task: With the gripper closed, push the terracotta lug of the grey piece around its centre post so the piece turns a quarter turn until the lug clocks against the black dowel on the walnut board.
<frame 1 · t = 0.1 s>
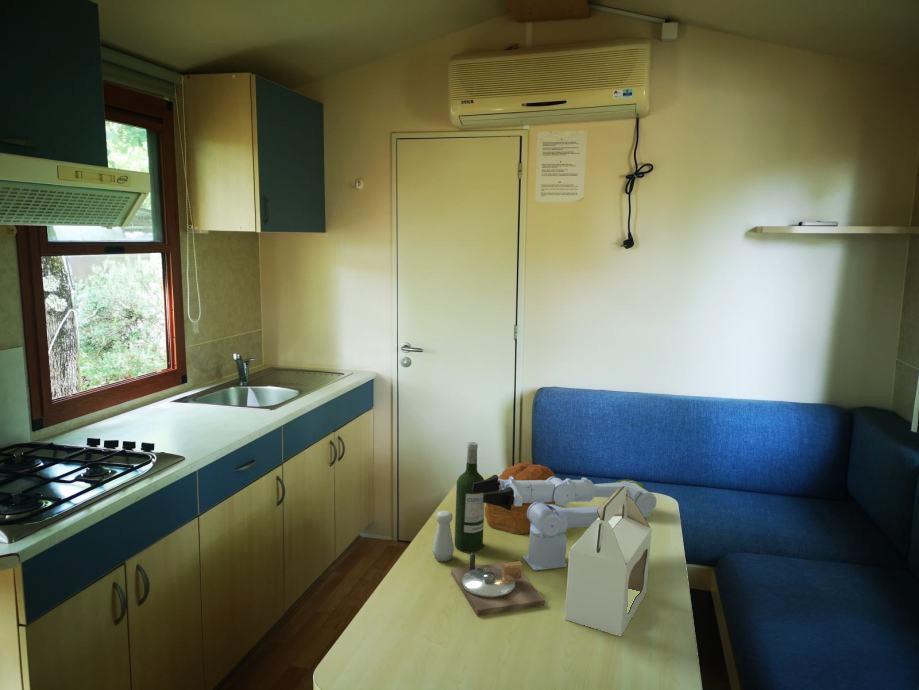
hand: (478, 492, 178), 22 cm above the table, tool horizontal, fingers open, 7 cm apart
apple: (627, 513, 223), on the table
bread: (521, 516, 218), on the table
salt shaker: (442, 558, 188), on the table
wine bottle: (468, 546, 195), on the table
gable box: (606, 607, 167), on the table
grey piece: (492, 575, 172), point 4 cm above the table, hinge at 0.0°
walnut board: (495, 589, 173), on the table
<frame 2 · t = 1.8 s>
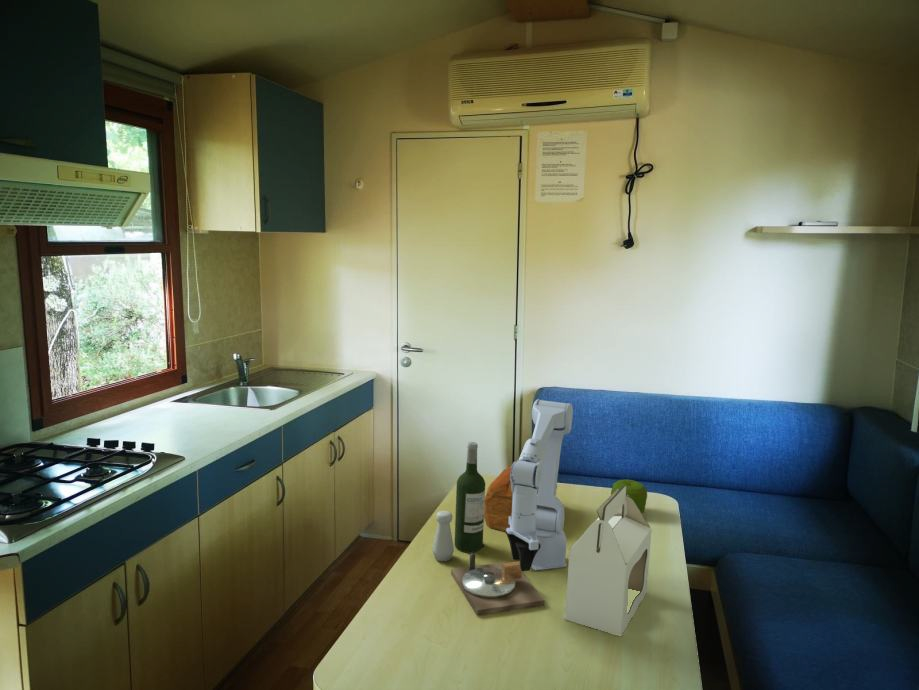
hand: (521, 564, 166), 9 cm above the table, tool pointing down, fingers open, 5 cm apart
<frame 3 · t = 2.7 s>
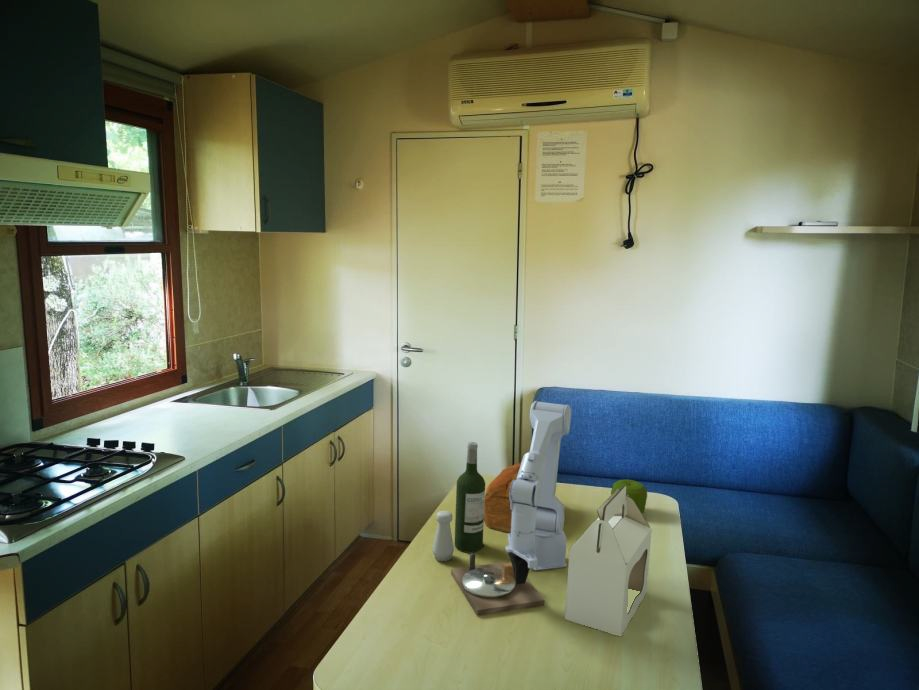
hand: (520, 582, 167), 5 cm above the table, tool pointing down, fingers closed
nothing on the table moved.
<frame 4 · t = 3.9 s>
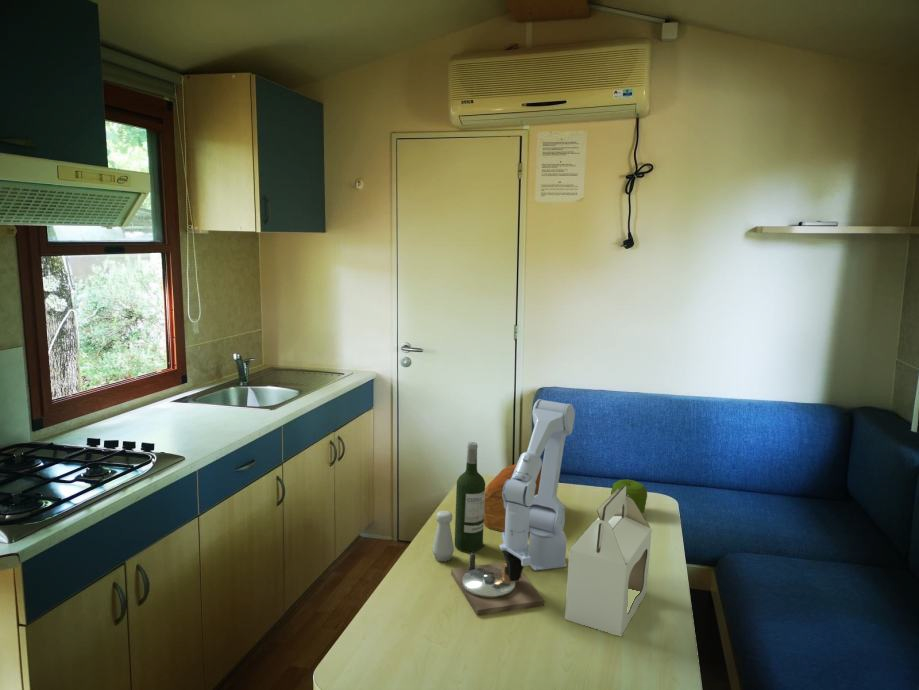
hand: (514, 579, 171), 3 cm above the table, tool pointing down, fingers closed, pressing on grey piece
grey piece: (492, 575, 172), point 4 cm above the table, hinge at 0.0°, touching gripper
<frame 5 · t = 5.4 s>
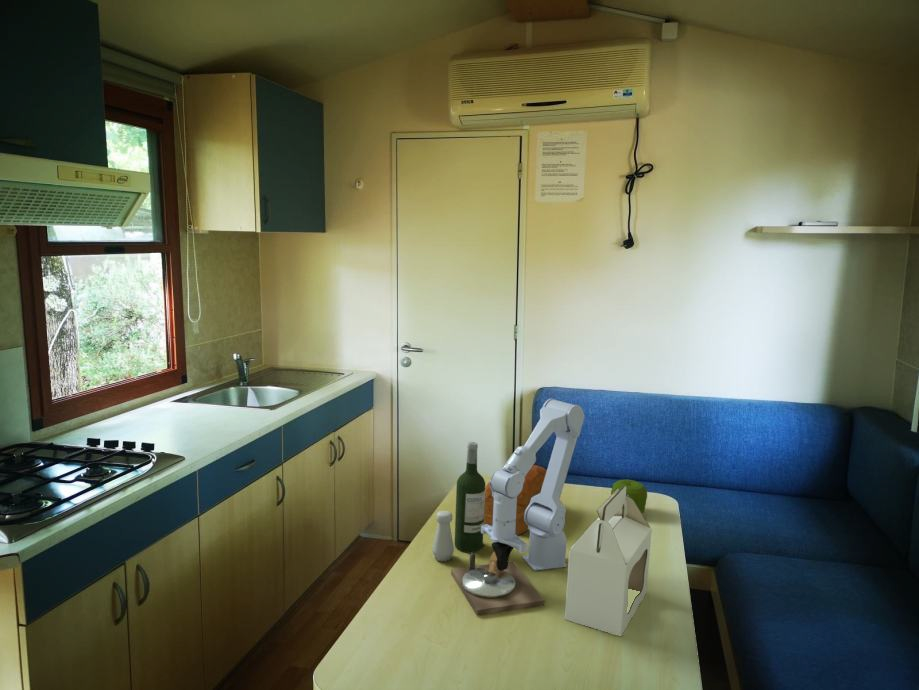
hand: (502, 568, 176), 4 cm above the table, tool pointing down, fingers closed, pressing on grey piece
grey piece: (489, 573, 172), point 4 cm above the table, hinge at 55.6°, touching gripper
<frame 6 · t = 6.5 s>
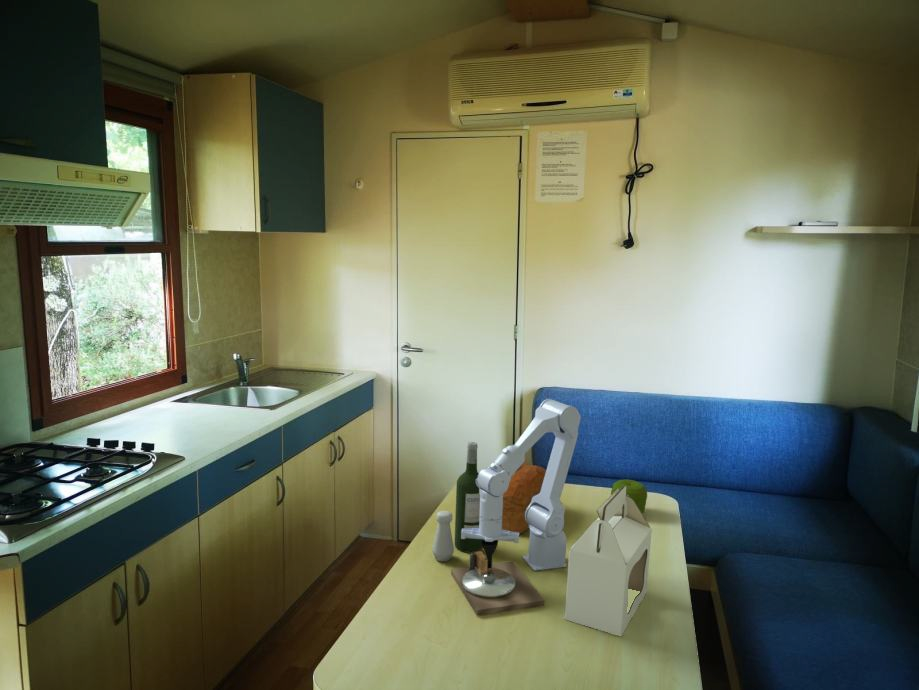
hand: (489, 566, 177), 3 cm above the table, tool pointing down, fingers closed, pressing on grey piece
grey piece: (487, 573, 172), point 4 cm above the table, hinge at 90.1°, touching gripper, walnut board
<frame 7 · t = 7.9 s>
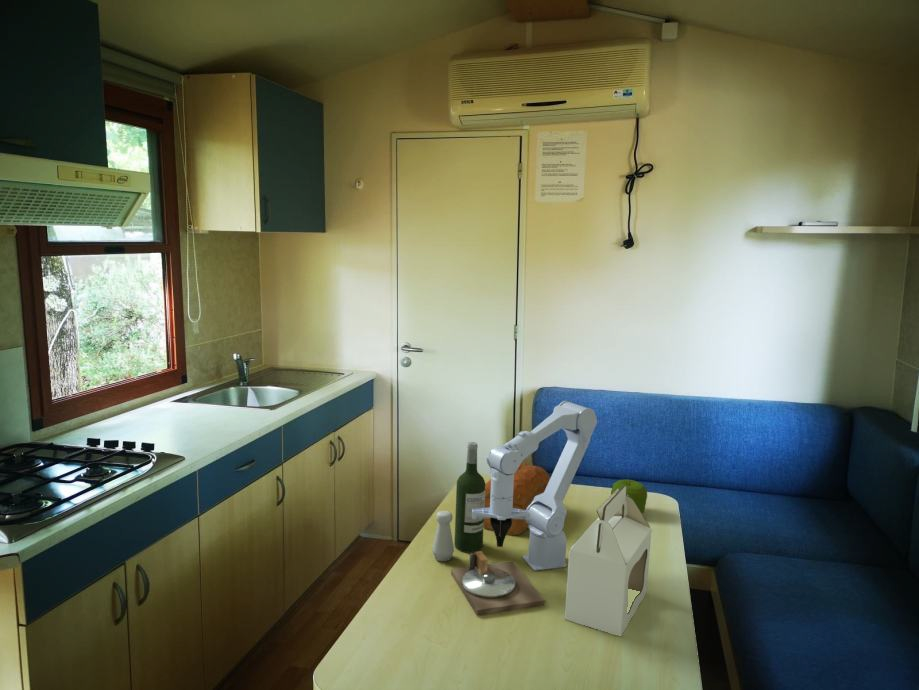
hand: (499, 545, 178), 9 cm above the table, tool pointing down, fingers closed
grey piece: (487, 573, 172), point 4 cm above the table, hinge at 89.8°
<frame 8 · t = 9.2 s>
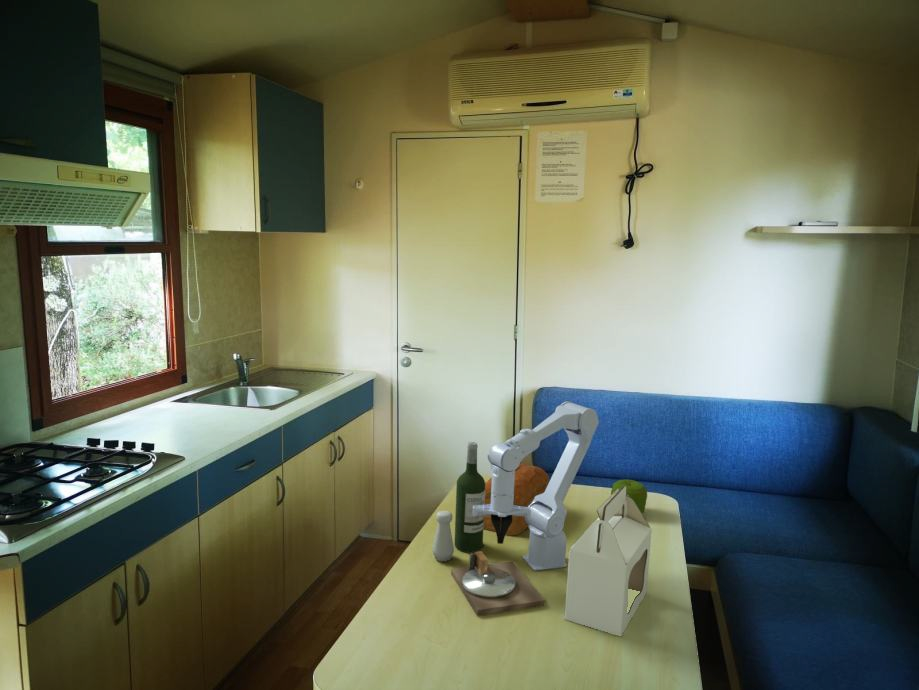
hand: (500, 542, 178), 9 cm above the table, tool pointing down, fingers closed
at the end: grey piece at +90° (first picture: +0°) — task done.
